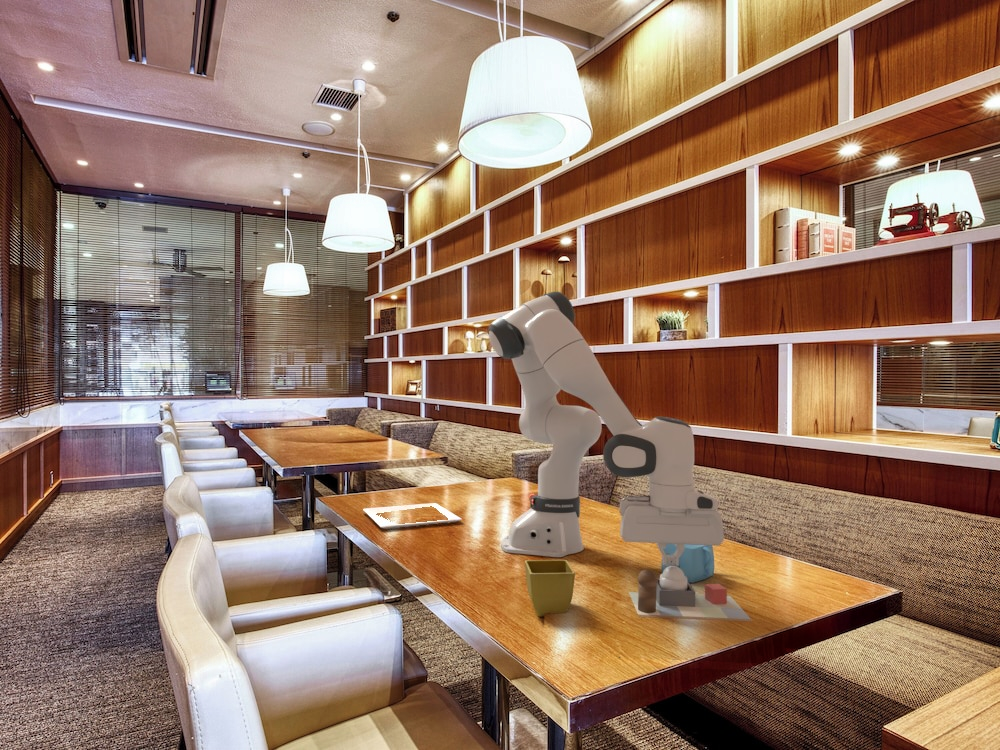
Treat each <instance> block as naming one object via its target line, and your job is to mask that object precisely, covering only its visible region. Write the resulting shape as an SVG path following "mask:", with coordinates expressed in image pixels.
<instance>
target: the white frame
mask: <svg viewBox="0 0 1000 750" xmlns="http://www.w3.org/2000/svg"><path fill="white" fill-rule="evenodd" d="M430 506H432V507H434V508H436V509H437V510H438V511H439V512H440V513H442V514H443V515H445V516H446V517H447V518H448V520H437V521H427V522H416V523H405V524H396V523H395V522H394V521H393V522H394V523H393V522H392V521H391V522H390V520H389V519H388V518H387V519H388V520H387V519H385V518H383V517H382V516H381V517H380V515H381V514H380V515H379V516H378V515H376V514H377V513H384V512H391V511H399V510H407V509H415V508H422V507H430ZM362 510H363V512H365V513H366V514H367V516H369V517H370V518H371V519H372V520H373V521H374V522H375V523H376V524H377V525H378V526H379V528H381V529H385V530H391V528H394V529H401V528H400V527H405V528H410V527H409V526H416V527H420V526H419V525H426V526H429V525H428V524H437V523H447V524H449V523H448V522H453V523H457V522H460V521H462V520H463V518H461V517H460V516H458V515H456V514H455V513H453V512H451V511H450V510H448V509H446V508H445V507H443V506H441V505H439V504H438V503H436V502H430V503H429V502H428V503H418V504H406V505H404V504H403V505H392V506H379V507H367V508H363V509H362ZM437 525H438V524H437Z"/></svg>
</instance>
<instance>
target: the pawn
mask: <svg viewBox="0 0 1000 750" xmlns="http://www.w3.org/2000/svg"><path fill="white" fill-rule="evenodd" d="M658 579H659V578H658V576H657V574H656V573H655V572H654V570H652V569H649V568H648V569H643V570H641V571H640V572H639V573H638V575H637V582H638V591H637V592H638V610H640V611H642V612H645V613H654V612H656V590H657V583H658Z"/></svg>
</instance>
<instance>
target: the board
mask: <svg viewBox="0 0 1000 750" xmlns="http://www.w3.org/2000/svg"><path fill="white" fill-rule="evenodd" d="M628 595H629V596H630V599H631V601H632V604H633V605H634V608H635V611H636V613H637V616H638V617H639V618H656V619H657V618H659V619H660V618H662V619H663V618H664V619H683V620H684V619H685V620H687V619H688V620H708V621H727V622H729V621H732V622H754V621H753V619H752V618H751V617H749V615H748V614H747V613H746V612H745V611H744V609H743V608H742V606H740V605H739V604H738V603H737V602H736V600H735V599H734V598H733V597H732V596H731V595H727V604H714V605H713V604H712V603H710V602H709V601H707V600H706V599H705V594H697V593H696V590H695V589H694V588H693V586H692V585H691V583H690V582H688V581H687V591H686V590H662V589H661V588H660V578H658V583H657V590H656V612H654V613H645V612H642V611H640V610H638V591H628Z"/></svg>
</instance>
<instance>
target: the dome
mask: <svg viewBox="0 0 1000 750" xmlns="http://www.w3.org/2000/svg"><path fill="white" fill-rule="evenodd" d="M659 579H660V588H661V589H662V590H686V591H687V577H686V576H684V573H683V571H682V570H681V569H680V568H679V567H676V566H669V567H667V568H666V569H665V570H664V571H663V573H661V574H659Z"/></svg>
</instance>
